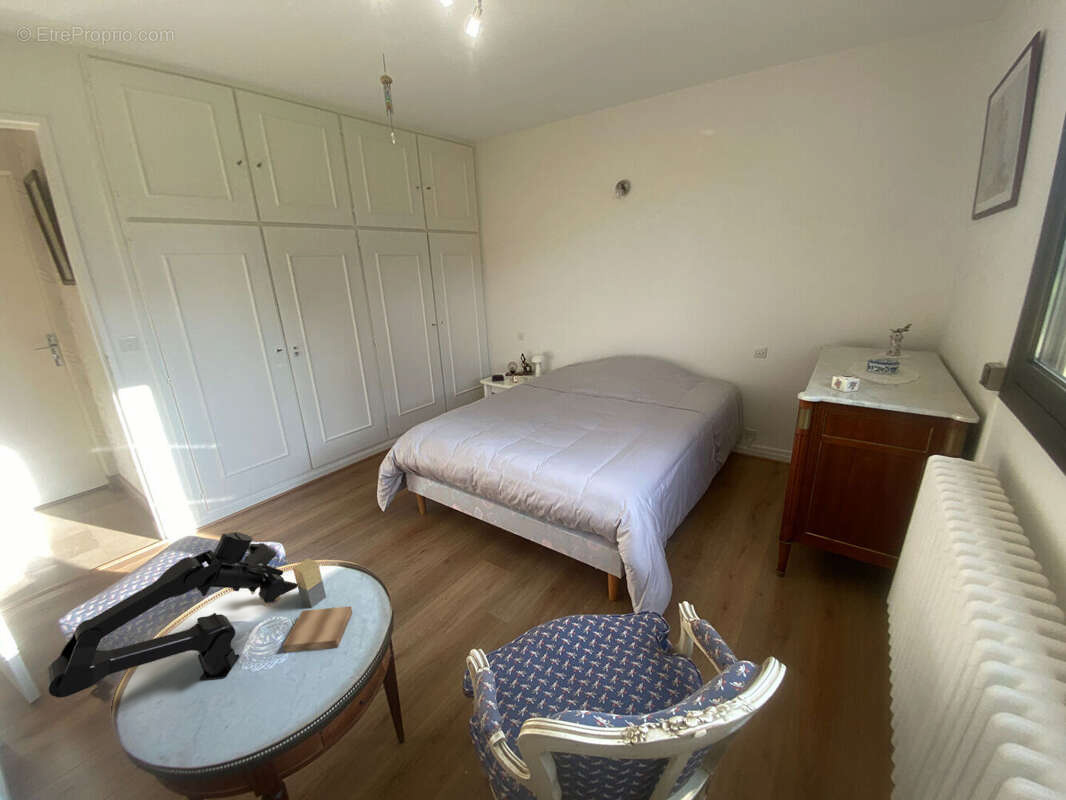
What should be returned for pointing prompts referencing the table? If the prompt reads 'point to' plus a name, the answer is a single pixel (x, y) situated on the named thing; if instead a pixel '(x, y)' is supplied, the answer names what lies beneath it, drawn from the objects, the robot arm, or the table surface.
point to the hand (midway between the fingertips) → (289, 579)
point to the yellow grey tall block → (309, 582)
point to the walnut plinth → (318, 629)
